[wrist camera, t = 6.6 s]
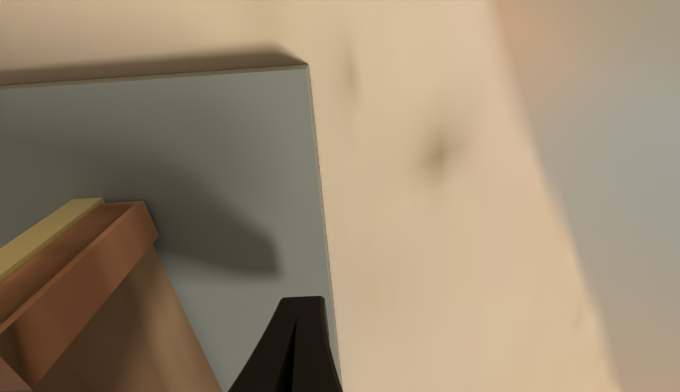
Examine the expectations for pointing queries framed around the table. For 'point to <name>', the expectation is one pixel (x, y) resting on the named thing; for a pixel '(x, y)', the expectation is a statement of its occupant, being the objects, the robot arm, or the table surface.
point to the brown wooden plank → (99, 314)
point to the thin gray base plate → (180, 188)
